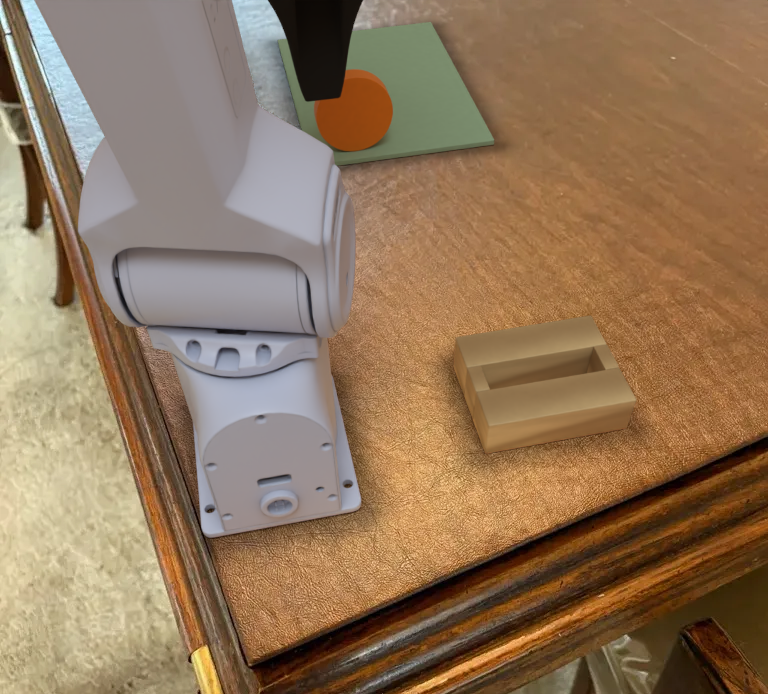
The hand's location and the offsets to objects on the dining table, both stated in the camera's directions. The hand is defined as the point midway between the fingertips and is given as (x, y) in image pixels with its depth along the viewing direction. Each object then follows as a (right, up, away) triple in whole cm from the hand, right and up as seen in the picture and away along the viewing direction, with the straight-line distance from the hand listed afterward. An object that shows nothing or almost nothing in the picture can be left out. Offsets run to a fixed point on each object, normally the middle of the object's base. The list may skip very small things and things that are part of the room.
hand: (312, 65), depth 47 cm
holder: (+13, -20, -3) cm, 24 cm away
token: (+2, +2, +10) cm, 10 cm away
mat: (+4, +7, +18) cm, 20 cm away
